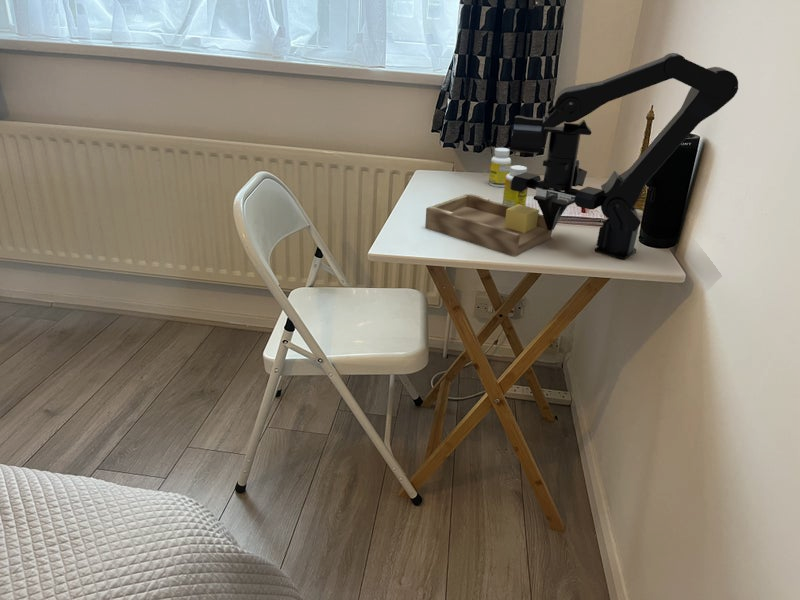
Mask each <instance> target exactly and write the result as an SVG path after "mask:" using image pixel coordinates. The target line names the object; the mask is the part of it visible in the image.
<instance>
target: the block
mask: <svg viewBox="0 0 800 600" xmlns="http://www.w3.org/2000/svg"><path fill="white" fill-rule="evenodd" d="M539 212H540V209H538V208H534V207H532V206H531V207H530V206H527V205H525V206H524V205H520V204H518V205H516V206H513V207H511V208H508V209H507V210H506V218H505V227H506V228H510V229H513V230H516V231H520V232H523V233H525V232H528V231H530V230H532V229H534V228H536V227H537V220H538V214H540V213H539Z"/></svg>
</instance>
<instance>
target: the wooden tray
mask: <svg viewBox="0 0 800 600" xmlns="http://www.w3.org/2000/svg"><path fill="white" fill-rule="evenodd" d="M508 208H511V206H508V205H504V204H503V203H500V202H496V201H492V200H490V198H488V197H484V196H480V195H476V194H473V193H468V194H467V193H466V194H463V195H460V196H458V197H455V198H452V199H449V200H446V201H443V202H441V203H438V204H435V205H431V206H429V207H426V208H425V209H426V210H425V224H424V225H425V227H424V228H425V229H429V230H432V231H434V232H436V233H437V232H438V233H440V234H443V235H447V236H451V237H453V238H456V239H460V240H462V241H465V242H468V243H471V244H475V245H478V246H481V247H484V248H486V247H487V248H486V249H490V250H493V251H495V252H500V253H502V254H505V255H508V256H510V257H511V256H512V257H517V256H519V255H521V254H522V253H524V252H526V251H528V250H531V249H532V248H534V247H535V246H538V245H540V244H541V243H543V242H546V241H547V240H548V241H549V239H551V238H552V233H553V230H552V231H550V230H548V229H547V226H546V223H545V220H544V217H543V214H540V213H539V214H538V220H537V227H536V228H534V229H532V230H530V231H528V232H525V233H523V232H520V231H516V230H513V229H510V228H506V227H505V218H506V210H507V209H508Z"/></svg>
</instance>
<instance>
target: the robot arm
mask: <svg viewBox="0 0 800 600" xmlns="http://www.w3.org/2000/svg"><path fill="white" fill-rule="evenodd" d="M671 79H674V80H676V81H678V82H679V83H682V84H684V85H687V86H689V87H690V88H689V90H688V92H687V94H686V97H685V99H684V101H683V103H682V105H681V107H680V109H679V110H678V111H677V112H676V114H674V116H673V117H672V118H671V119H670V120H669V122H668V123H667V124H666V125H665V126H664V127H663V128H662V130H661V131H660V132H659V133H658V135H656V137H655V138H654V139H653V140H652V141H651V143H650V144H649V145H648V146H647V147H646V148H645V150H644V151H643V152H642V153H641V154H640V155H639V156H638V158H637V159H636V160H635V161H634V163H633V164H632V165H631V166H630V167H629V168H628V169H627V170H626V171H624V172H622V173H621V174H619V173H618V172H617V171H615V170H613V172H612V174H611V175H610V177H609V178H608V179H607V181H606V182H604V183H603V184H601V185H600V188H597V187H591V186H585V187H584V188H582V189H577V188H573V187H577V186H578V187H583V186H584V183H585V181H586V180H585V179H586V177H587V174H588V171H587V170H585V169H582V168H580V160H579V159H578V155H579V154H578V152H579V147H580V142H581V135H583V136H584V135H586V136H591V135H592V129H591V128H590V126H589V125H588V124H587V123H586V120H585V119H582V118H584V117H587V115H588V116H589V114H591V113H593V112H594V111H596V110H597V109H598V108H600V107H602V106H603V105H605V104H607V103H609V102H612V101H615V100H617V99H620V98H622V97H625V96H627V95H631V94H633V93H636V92H638V91H641V90H644V89H646V88H650V87H652V86H654V85H657V84H660V83H663V82H665V81H668V80H671ZM738 91H739V80H738V77H737V75H736V74H735V73H733V72H732V71H730V70H728V69H725V68H723V67H720V66H712V67H708V68H706V67H704V66H702V65H700V64H697V63H695V62H692V61H690V60H688V59H687V58H685V57H684V56H683V55H681V54H679V53H677V52H676V53H675V52H670V53H667V54H665V55H664V56H662V57H661V58H658V59H655V60H653V61H650V62H647V63H645V64H642V65H640V66H637V67H635V68H632V69H630V70H627V71H623V72H622V73H618V74H616V75H613V76H611V77H609V78H605V79H603V80H600V81H599V80H598V81H595V82H588V83H580V84H577V85H572V86H567V87H565V88H563V89H561V90H560V91H558V93H557V95H556V97H555V98H554V103H553V106H551V108H550V109H549V110H548V111H547V112H545V114H544V115H543V116H542V118H538V117H529V116H528V117H526V116H523V115H516V116H514V123H513V129H512V132H511V138H510V144H509V145H510V147H509V150H510V152H514V153H515V152H516V153H529V154H539V152H540V151H542V149H543V150H544V149H545V148H546V143H547V142H546V141H547V134H548V133H550V135H549V141H548V147H547V154H546V155H547V156H546V159H545V160H542V161H543V162H542V167H545V169H544V176H543V179H542V178H541V176H540V174H534V173H531V172H528V171H527V172H525V173H522V174H519V175H516V176H514V177H513V178H512V180H511V183H510V189H511V190H514V191H518V192H523V191H525V190H526V189H527V188H528V189H533V190H536V192H535V195H534V196H533V198H532V199H533V200H535V201H536V202H537V204H538V207H539V208H540V209H539V210H540V211H541V213H542V214H541V215H543V217H544V220H545V223H546V226H547V229H548V230H550V231H552V232H553V231H554V230H555V227H556V226H557V224H558V222H559V220H560V218H561V217H562V215H563V213H564V212H565V211H566V209H567V208H568V206H570V205H572V204H575V206H576V207H579V208H583V209H587V210H595V209H598V208H600V209H601V211H602V214H603V216H604V217H606V218H607V219H605V220H603V222H602V226H600V227H599V229H598V234H597V235H598V236H597V241H596V246H597V247H595V248H594V251H595V252H596V253H600V254H604V255H608V256H611V257H614V258H618V259H621V260H626V259H627V258H629V257H631V256H632V255H633V254H635V253H636V252H637V248H635V245H636V240H637V236H638V232H639V228H640V225H641V223H642V222H641V221H642V220H640V216H639V215H638V214H639V213H638V211H637V209H636V208H635V205H636V204H637V202H638V201H639V199H640V196H641V195H642V193H643V190H644V188H645V186H646V184H647V183H648V182H649V181H650V180H651V178H653V176H654V175H655V174H656V173H657V172H658V170H659V169H660V168H661V167H662V166H663V165H664V164H665V163H666V161H667V160H668V159H669V158H670V157H671V156H672V155H673V154H674V152H675V151H676V150H677V149H679V147H680V146H681V144H683V143H684V142H685V140H686V139H687V138H688V137H689V136H690V134H691V133H692V132H693V131H694V129H696V127H697V126H698V125H699V124H700V123H701V122H703V121H705V120H706V119H707V118H709V117H711V116H712V115H714V114H715V113H717V112H718V111H719V110H721V109H722V108H723V107H724V106H726V105H727V104H728V103H729V102H730V101H731V100H733V98H734V97H735V96H736V94H737V93H738ZM581 119H582V120H581ZM579 120H581V121H580V122H579V123H574V122H577V121H579ZM561 124H563V126H559V125H561ZM541 179H542V180H541Z"/></svg>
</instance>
